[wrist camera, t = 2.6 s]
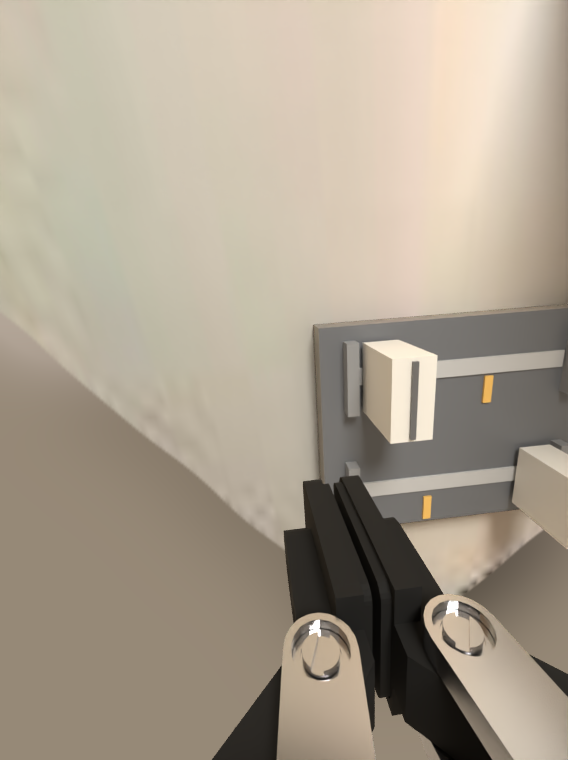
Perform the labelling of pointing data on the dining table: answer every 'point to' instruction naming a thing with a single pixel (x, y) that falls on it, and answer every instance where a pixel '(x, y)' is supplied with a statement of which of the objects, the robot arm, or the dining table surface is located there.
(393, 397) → the block
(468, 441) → the console
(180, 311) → the dining table surface
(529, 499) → the block
